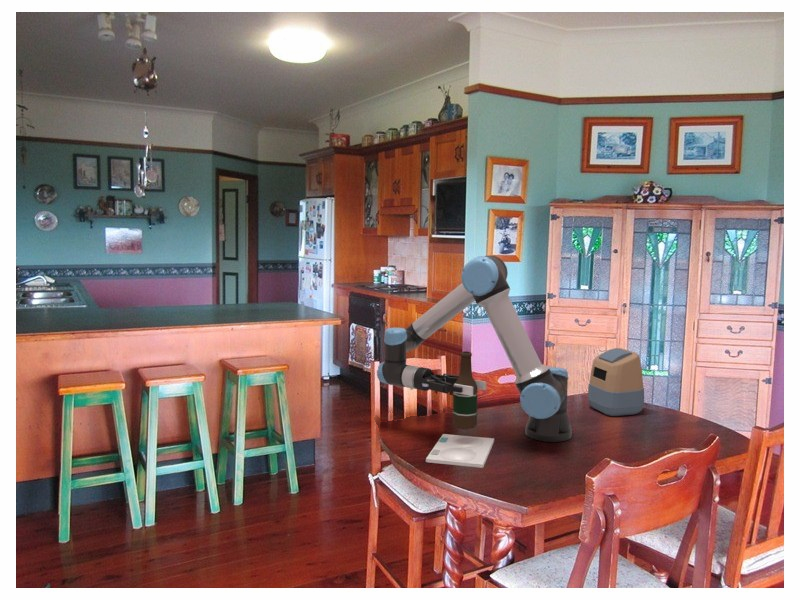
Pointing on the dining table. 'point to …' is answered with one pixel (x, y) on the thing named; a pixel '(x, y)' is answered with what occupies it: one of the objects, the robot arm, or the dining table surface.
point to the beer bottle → (465, 397)
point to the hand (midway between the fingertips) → (479, 388)
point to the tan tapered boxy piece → (616, 383)
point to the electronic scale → (461, 450)
